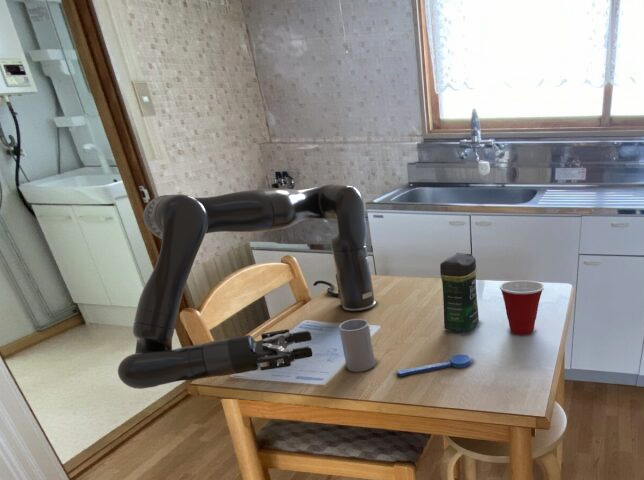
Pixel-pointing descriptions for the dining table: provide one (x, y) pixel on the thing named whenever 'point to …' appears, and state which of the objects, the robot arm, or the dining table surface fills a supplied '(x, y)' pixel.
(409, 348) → the dining table surface
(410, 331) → the dining table surface
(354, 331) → the gray cup
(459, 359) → the spoon
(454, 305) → the coffee jar
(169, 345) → the robot arm
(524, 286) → the plastic cup
